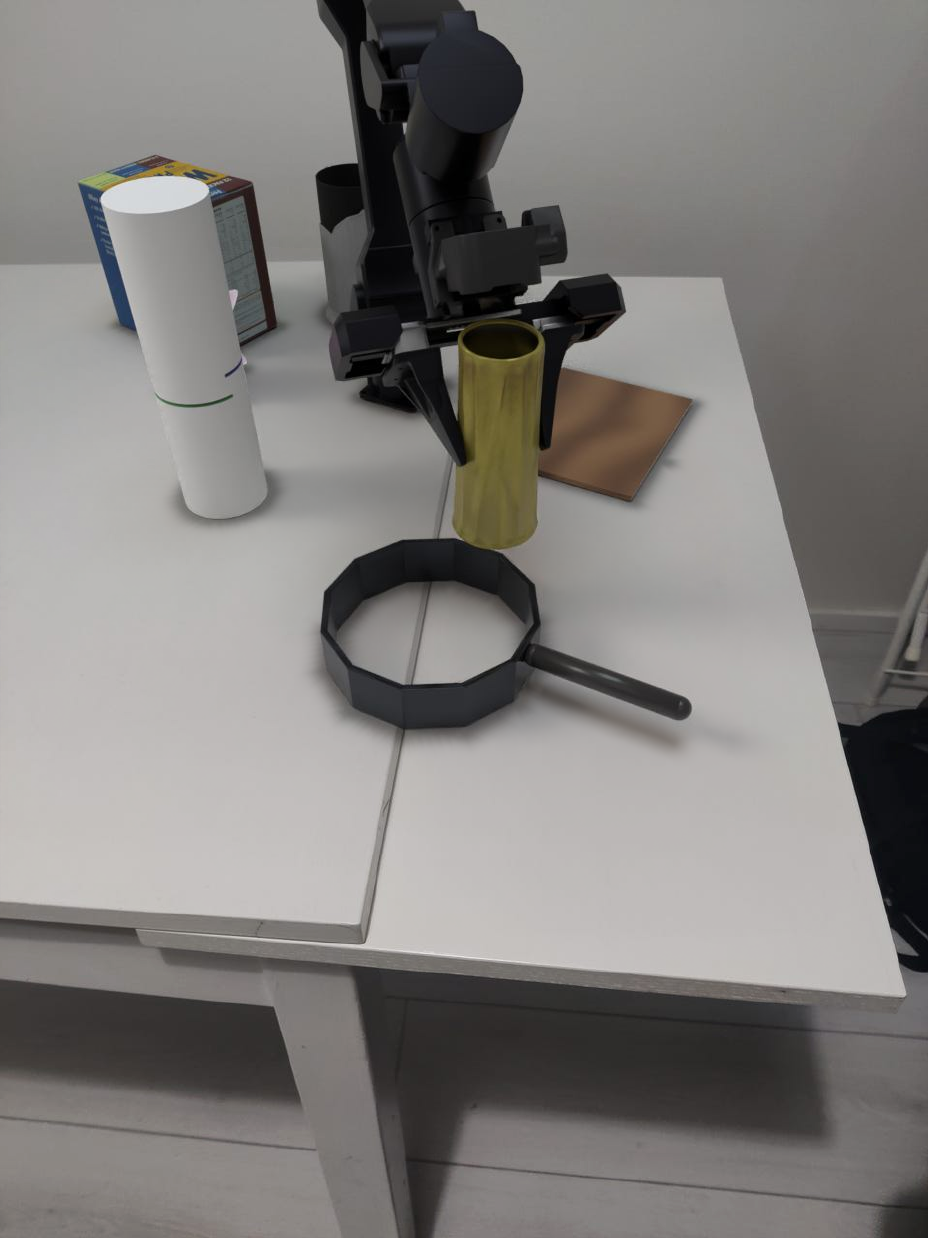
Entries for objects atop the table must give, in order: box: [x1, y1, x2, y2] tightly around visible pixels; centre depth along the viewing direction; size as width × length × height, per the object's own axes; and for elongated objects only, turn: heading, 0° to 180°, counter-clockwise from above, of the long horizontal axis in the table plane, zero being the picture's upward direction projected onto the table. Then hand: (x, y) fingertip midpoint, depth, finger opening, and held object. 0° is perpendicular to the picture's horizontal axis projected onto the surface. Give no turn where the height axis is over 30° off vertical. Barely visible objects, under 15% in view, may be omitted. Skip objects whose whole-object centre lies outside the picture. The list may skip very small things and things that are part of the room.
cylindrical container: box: [100, 176, 269, 520], centre depth 68 cm, size 7×7×25 cm
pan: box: [319, 537, 693, 730], centre depth 60 cm, size 26×15×4 cm, turn 63°
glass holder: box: [314, 162, 367, 325], centre depth 98 cm, size 9×14×15 cm, turn 24°
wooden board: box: [538, 367, 694, 502], centre depth 83 cm, size 14×18×1 cm
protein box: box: [76, 154, 278, 346], centre depth 94 cm, size 10×15×16 cm
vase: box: [451, 319, 545, 551], centre depth 57 cm, size 6×6×14 cm
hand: (504, 457), depth 57 cm, fingers closed on vase, 5 cm apart
